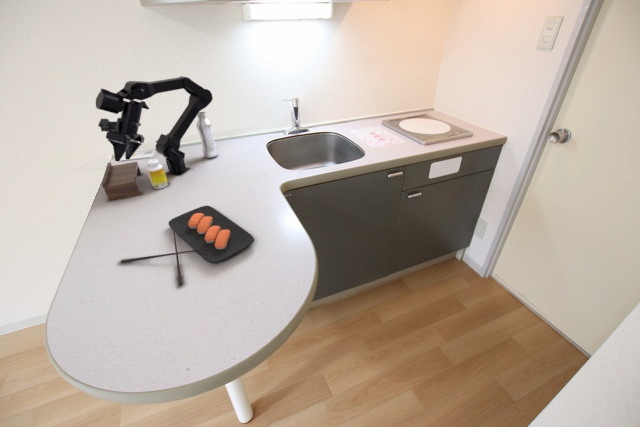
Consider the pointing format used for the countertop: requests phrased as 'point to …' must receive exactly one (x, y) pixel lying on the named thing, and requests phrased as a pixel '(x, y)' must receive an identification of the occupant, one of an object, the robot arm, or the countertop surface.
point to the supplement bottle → (156, 174)
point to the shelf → (121, 180)
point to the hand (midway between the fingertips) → (122, 160)
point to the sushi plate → (207, 236)
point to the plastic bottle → (206, 135)
